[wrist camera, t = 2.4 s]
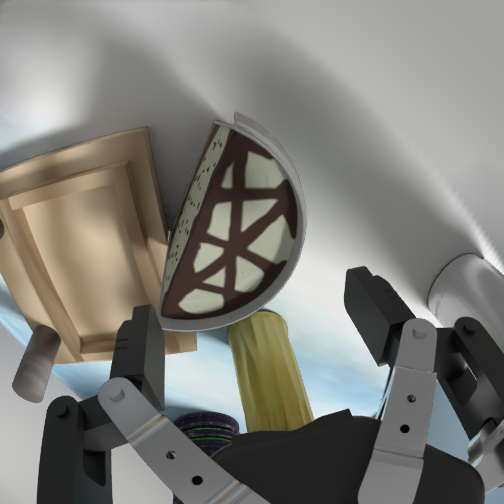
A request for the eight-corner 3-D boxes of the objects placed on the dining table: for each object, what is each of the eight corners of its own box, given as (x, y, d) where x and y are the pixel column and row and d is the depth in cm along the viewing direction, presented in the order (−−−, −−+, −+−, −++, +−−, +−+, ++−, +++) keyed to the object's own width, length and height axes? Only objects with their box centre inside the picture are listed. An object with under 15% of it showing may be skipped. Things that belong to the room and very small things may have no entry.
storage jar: (164, 439, 41) (168, 529, 29) (176, 407, 37) (182, 515, 24) (228, 445, 44) (241, 529, 32) (249, 414, 40) (270, 513, 27)
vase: (237, 359, 34) (259, 480, 22) (218, 320, 31) (238, 458, 18) (291, 343, 34) (332, 461, 22) (280, 302, 31) (327, 433, 18)
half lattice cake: (234, 268, 28) (252, 356, 19) (164, 247, 26) (153, 334, 17) (299, 134, 23) (360, 172, 14) (222, 101, 21) (241, 116, 12)
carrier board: (147, 126, 21) (118, 155, 13) (196, 335, 31) (201, 412, 24) (-21, 178, 19) (-84, 225, 12) (58, 350, 30) (38, 417, 22)
